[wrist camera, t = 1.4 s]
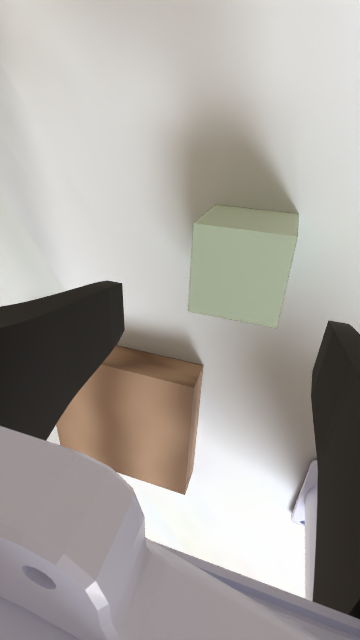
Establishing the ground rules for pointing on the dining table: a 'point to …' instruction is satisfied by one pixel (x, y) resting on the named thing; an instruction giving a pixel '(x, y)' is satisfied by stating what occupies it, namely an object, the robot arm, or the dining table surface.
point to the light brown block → (138, 417)
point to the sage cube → (241, 263)
